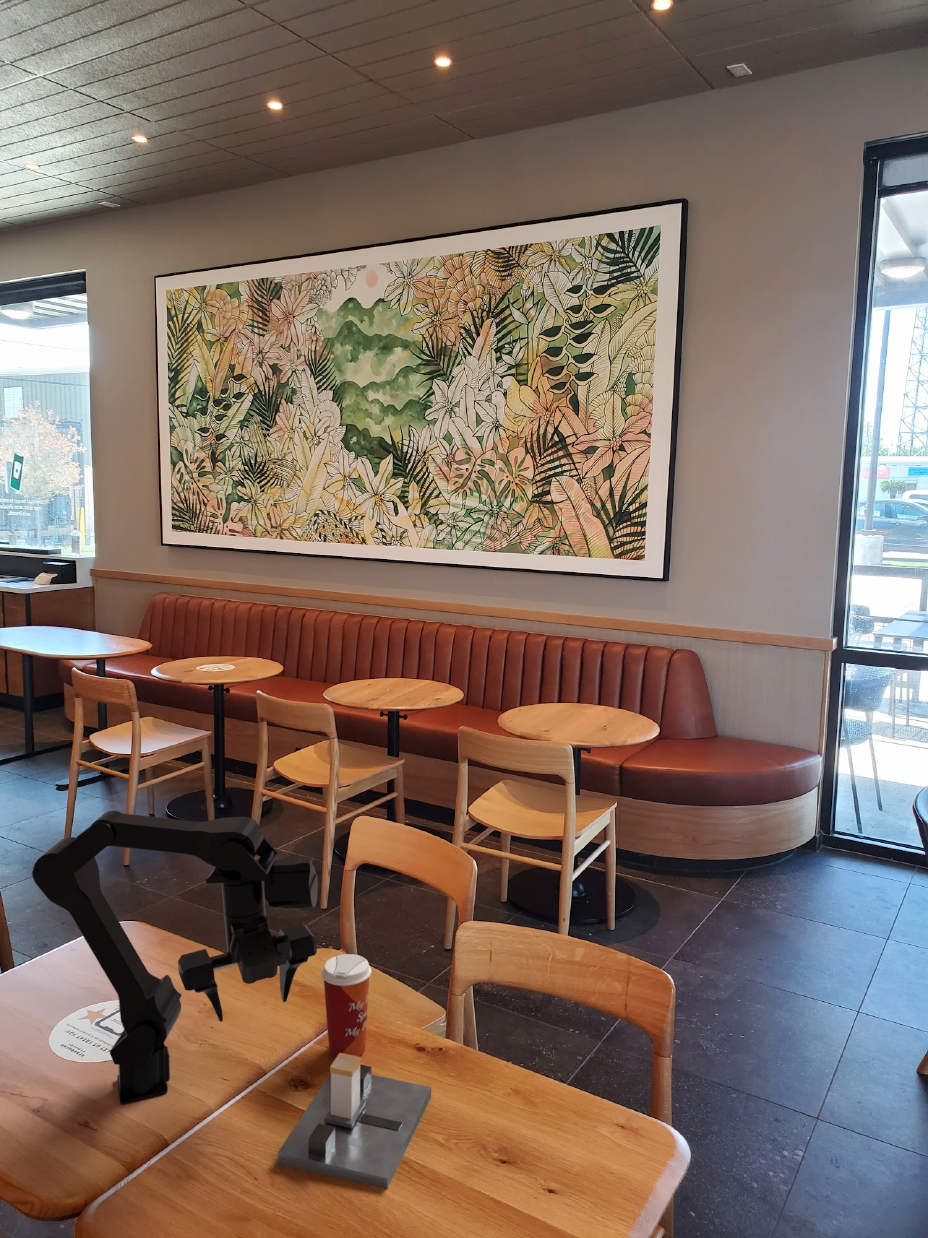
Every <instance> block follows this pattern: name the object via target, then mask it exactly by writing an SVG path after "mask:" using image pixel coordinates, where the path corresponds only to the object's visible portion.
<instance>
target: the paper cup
mask: <svg viewBox="0 0 928 1238" xmlns="http://www.w3.org/2000/svg"><path fill="white" fill-rule="evenodd" d="M371 975H372V968H371V966H370V965H369V962H368V960H367V959H366V958H365V957H363V956H362V955H359V954H353V953H352V954H351V953H350V954H348V953H346V954H340V955H335V956H332V957H331V958H329V959H327V961H326V962H325V963H324V966H323V968H322V971H321V978H322V979H323V983H324V987H323V988H324V999H325V1000H324V1001H325V1012H326V1026H327V1027H326V1028H327V1039H328V1049H329V1054H330V1055H331V1056H332V1057H333V1058H334V1059H336V1058H337V1056H338V1055H339V1053H343V1054H348V1055H353V1056H357V1057H361V1055H363V1054H364V1052H365V1050H366V1045H367V1028H368V1008H369V1007H368V1006H369V988H370V976H371Z"/></svg>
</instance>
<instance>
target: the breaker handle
mask: <svg viewBox="0 0 928 1238" xmlns="http://www.w3.org/2000/svg"><path fill="white" fill-rule="evenodd" d="M360 1064H361V1065H362V1057H361V1056H359V1057H357V1056H353V1055H348V1054H343V1053H339V1055H338V1056H337V1058H334V1061H333V1062H331V1065H330V1066H329V1071H330V1072H329V1074H330V1073H331V1109H330V1110H329V1112H328V1113H327V1115H326V1117H325V1118H324V1122H327V1123H331V1124H336V1125H340V1126H344V1127H349V1128H352V1127H353V1125H354V1124H355V1122H356V1120H357V1118H358V1117H359V1115H360V1113H361V1111H362V1110H363V1108H364V1106H365V1104H366V1100H361V1099H360Z"/></svg>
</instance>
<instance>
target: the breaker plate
mask: <svg viewBox="0 0 928 1238" xmlns="http://www.w3.org/2000/svg"><path fill="white" fill-rule="evenodd" d="M431 1098H432V1086H428V1085H423V1084H418V1083H413V1082H409V1081H404V1080H400V1079H395V1078H389V1077H385V1076H381V1075H375V1074H372V1066H371V1065H370V1066H369V1065H365V1064H362V1063H361V1064H360V1099H361V1100H366V1104H365V1106H364V1108H363V1110H362V1111H361V1113H360V1115H359V1117H358V1118H357V1120H356V1122H355V1124H354V1125H353V1127H352V1128H349V1127H344V1126H340V1125H336V1124H331V1123H327V1122H324V1118H325V1117H326V1115H327V1113H328V1112H329V1110H330V1109H331V1073H330V1072H329V1075H328V1076H327V1078H326V1079H325V1081H324V1082H323V1084H322V1085H321V1087H320V1088H319V1089H318V1091H317V1093H316V1094H315V1095H314V1097H313V1098H312V1101H311V1102H310V1103H309V1105H308V1106H307V1107H306V1109H305V1111H304V1112H303V1114H302V1115H301V1117H300V1118H299V1120H298V1121H297V1123H296V1124H295V1126H293V1129H292V1130H291V1132H290V1133H289V1135H288V1136H287V1138H286V1139H285V1141H284V1142H283V1143H282V1146H281V1147H280V1148H279V1150H278V1151H277V1165H278V1166H282V1167H286V1168H289V1169H290V1168H292V1169H295V1170H300V1171H305V1172H308V1173H309V1172H310V1173H314V1174H319V1175H323V1176H328V1177H331V1178H332V1177H333V1178H337V1179H342V1180H347V1181H350V1182H351V1181H352V1182H356V1183H360V1184H364V1185H368V1186H373V1185H374V1187H378V1188H384V1189H388V1188H389V1187H390V1184H391V1182H392V1181H393V1178H394V1176H395V1174H396V1171H397V1170H398V1168H399V1166H400V1164H401V1162H402V1159H403V1157H404V1156H405V1153H406V1151H407V1149H408V1146H409V1144H410V1142H411V1140H412V1139H413V1136H414V1134H415V1132H416V1131H417V1128H418V1125H419V1123H420V1122H421V1119H422V1118H423V1115H424V1114H425V1111H426V1108H427V1106H428V1105H429V1103H430V1101H431ZM365 1183H366V1184H365Z"/></svg>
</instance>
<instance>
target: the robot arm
mask: <svg viewBox="0 0 928 1238" xmlns="http://www.w3.org/2000/svg"><path fill="white" fill-rule="evenodd" d="M107 847H115V848H123V849H133V850H142V851H150V852H159V853H169V854H175V855H185V856H190V857H191V856H192V857H195V858H197V859H199V860H201V861H202V862H203V863H205V864H207V866H211V867H214V868H213V869H212V871H210V873H209V875H208V876H207V878H206V879H205V883H206V884H209V885H211V884H212V885H213V884H220V885H221V895H222V906H223V918H224V929H225V931H224V932H225V942H226V943H225V944H226V952H224V953H220V954H217V955H213V956H209V953H208V951H207V949H206V948H204V949H199V950H196V951H192V952H188V953H183V954H181V955H180V957H179V959H178V960H177V969H178V975H179V979H181V982H182V985H183V988H184V990H185V991H190V992H191V991H194V992H195V993H198V994H200V993H203V994H205V996H206V997H207V998H208V1000H209V1002H210V1003H211V1005H212V1008H213V1010H214V1011H215V1014H216V1016H217V1019H218V1020H219V1022H221V1023H222V1022H223V1021H224V1018H223V1016H224V1015H223V1010H222V1009H223V1008H222V1004H221V1001H220V1000H221V999H220V996H219V992H218V990H219V989H218V984H217V981H216V979H215V972H216V971H220V970H223V969H227V968H230V967H233V966H238V971H239V973H240V976H241V980H242V982H243V983H244V984H246V985H247V984H248V985H250V984H251V985H252V984H255V983H256V982H258V981H261V980H265V979H271V978H272V979H273V978H274V977H276V976H277V975H278V973H279V991H280V996H281V1000H282V1002H283V1003H286V1002H287V1000H288V997H289V994H290V990H291V987H292V984H293V983H292V982H293V979H294V977H295V974H296V972H297V970H298V968H299V967H300V966H301V965H302V964H305V963H308V960H309V958H311V957H314V956H315V955H316V954H317V953H318V949H317V941H316V937H315V935H314V934H313V933H312V931H311V930H310V928H309V927H308V926H307V925H306V924H304V923H303V922H300V923H297V924H294V925H290V926H289V925H288V926H286V927H283V928H279V929H280V930H279V933H278V935H279V936H277V935H276V934H274V935H272V933H271V932H270V929H269V924H268V918H267V917H266V915H267V913H266V902H267V903H268V904H267V905H268V907H269V908H273V909H275V910H277V909H278V910H279V909H280V910H281V909H283V910H284V909H300V908H303V909H304V908H315V907H316V904H317V901H318V892H319V879H318V878H319V877H318V873H317V872H316V868H315V865H313V858H312V857H301V858H298V859H297V858H296V859H279V860H278V858H279V857H280V852H279V851H278V850H277V849H276V848H275V847H274V846H273V844H272V843H270V841H269V840H268V839H267V837H265V836H264V831H263V830H262V828H261V826H260V825H259V823H258V821H256V820H255V819H254V818H252V817H247V816H233V817H220V818H217V819H212V820H208V821H193V820H192V821H190V820H185V819H175V818H166V817H158V816H156V817H155V816H147V815H139V814H138V815H137V814H132V813H131V814H130V813H124V812H121V811H119V810H108V811H106V812H104V813H103V814H101V816H99V817H98V818H97V819H96V820H95V821H93V823H91V825H90V826H88V828H86V829H85V830H83V831H82V832H81V833H80V834H78V835H77V836H76V837H75V836H74V837H71V836H70V837H65V838H62V839H61V840H59V841H58V842H57V843H56V844H55V845H53V846H52V847H51V848H50V849H48V850H47V851H46V852H45V853H43V854H42V855H41V856H40V857H39V858H37V860H36V861H35V863H34V864H33V869H32V872H31V876H32V879H33V881H34V884H35V885H36V886H37V887H38V889H39V890H40V891H41V892H42V893H43V895H44V896H45V897H46V898H47V899H48V901H50V902H51V903H53V904H54V905H57V906H58V907H59V908H62V909H63V910H65V911H67V913H68V914H69V915H70V916H71V918H72V920H73V921H74V923H75V925H76V927H77V928H78V930H79V932H80V934H81V935H82V937H83V938H84V940H85V943H86V944H87V945H88V947H89V949H90V950H91V952H92V954H93V955H94V957H95V959H96V960H97V962H98V964H99V965H100V968H101V969H102V971H103V973H104V974H105V976H106V977H107V979H108V981H109V982H110V984H111V986H112V987H113V990H114V991H115V992H116V994H117V997H118V1006H119V1007H118V1008H119V1015H120V1022H121V1025H122V1028H123V1031H122V1032H121V1034H120V1035H119V1036H118V1038H117V1039H116V1041H115V1043H114V1044H113V1046H112V1047H111V1049H110V1050H109V1055H110V1057H111V1059H112V1062H113V1064H114V1065H115V1066H116V1065H117V1069H118V1074H117V1075H116V1076H117V1077H116V1078H117V1079H116V1080H117V1088H118V1089H117V1090H118V1097H119V1103H120V1104H122V1105H124V1104H127V1103H132V1102H136V1101H137V1102H138V1101H140V1100H145V1099H148V1098H152V1097H156V1096H161V1095H165V1094H167V1093H168V1092H169V1090H168V1089H169V1088H168V1082H169V1081H170V1080H171V1077H170V1075H171V1074H170V1072H171V1071H170V1070H171V1068H170V1065H171V1064H170V1053H169V1048H168V1047H169V1046H167V1045H165V1042H166V1040H167V1038H168V1037H169V1035H170V1033H171V1032H172V1029H173V1028H174V1026H175V1024H176V1022H177V1020H178V1019H179V1017H180V1014H181V1011H182V1003H181V1001H180V999H181V998H182V994H181V993H180V992H179V991H178V990H177V989H176V988H175V985H174V983H173V980H172V978H171V976H170V975H168V974H166V975H164V976H163V977H161V978H159V977H157V976H155V975H153V974H152V973H150V972H149V971H148V969H147V967H146V966H145V964H144V962H143V960H142V959H141V957H140V956H139V954H138V952H137V950H136V949H135V947H134V945H133V944H132V942H131V940H130V939H129V937H128V935H127V934H126V931H125V929H124V928H123V926H122V925H121V923H120V921H119V920H118V917H117V916H116V914H115V913H114V911H113V909H112V908H111V905H110V904H109V903H108V901H107V899H106V897H105V896H104V894H103V892H102V889H101V881H100V879H101V878H100V869H99V865H98V861H97V860H96V856H97V855H98V854H99V853H101V852H102V851H103V850H105V849H106V848H107ZM256 856H259V859H258V861H257V859H256V858H255V857H256ZM265 901H266V902H265Z"/></svg>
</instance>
